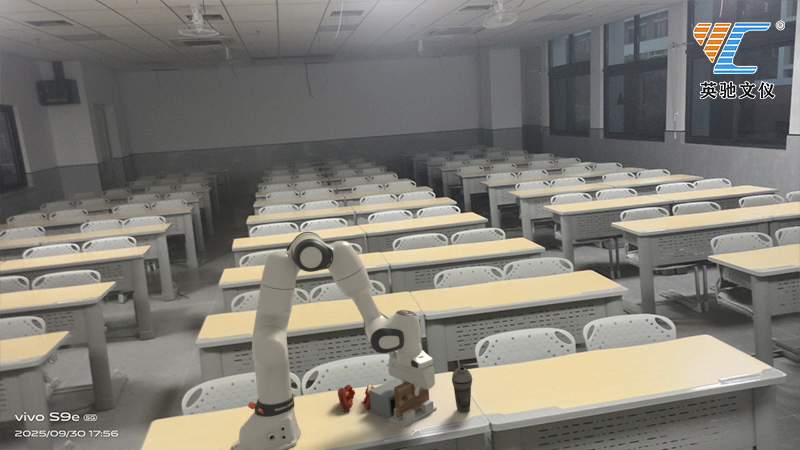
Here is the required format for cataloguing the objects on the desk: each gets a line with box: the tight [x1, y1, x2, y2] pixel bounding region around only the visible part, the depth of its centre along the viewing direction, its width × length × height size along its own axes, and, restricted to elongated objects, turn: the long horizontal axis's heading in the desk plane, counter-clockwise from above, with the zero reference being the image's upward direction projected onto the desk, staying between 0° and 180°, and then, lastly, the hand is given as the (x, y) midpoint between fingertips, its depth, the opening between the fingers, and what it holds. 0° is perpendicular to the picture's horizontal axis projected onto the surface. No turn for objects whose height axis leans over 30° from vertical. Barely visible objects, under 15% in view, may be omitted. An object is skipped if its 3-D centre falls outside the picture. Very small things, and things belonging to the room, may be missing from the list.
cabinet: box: [369, 377, 437, 427], centre depth 212 cm, size 16×18×8 cm
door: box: [394, 382, 430, 417], centre depth 207 cm, size 4×14×10 cm, turn 133°
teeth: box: [337, 384, 375, 412], centre depth 219 cm, size 10×8×15 cm
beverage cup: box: [451, 355, 473, 414], centre depth 208 cm, size 7×7×20 cm
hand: (411, 393), depth 208 cm, fingers closed on door, 2 cm apart
